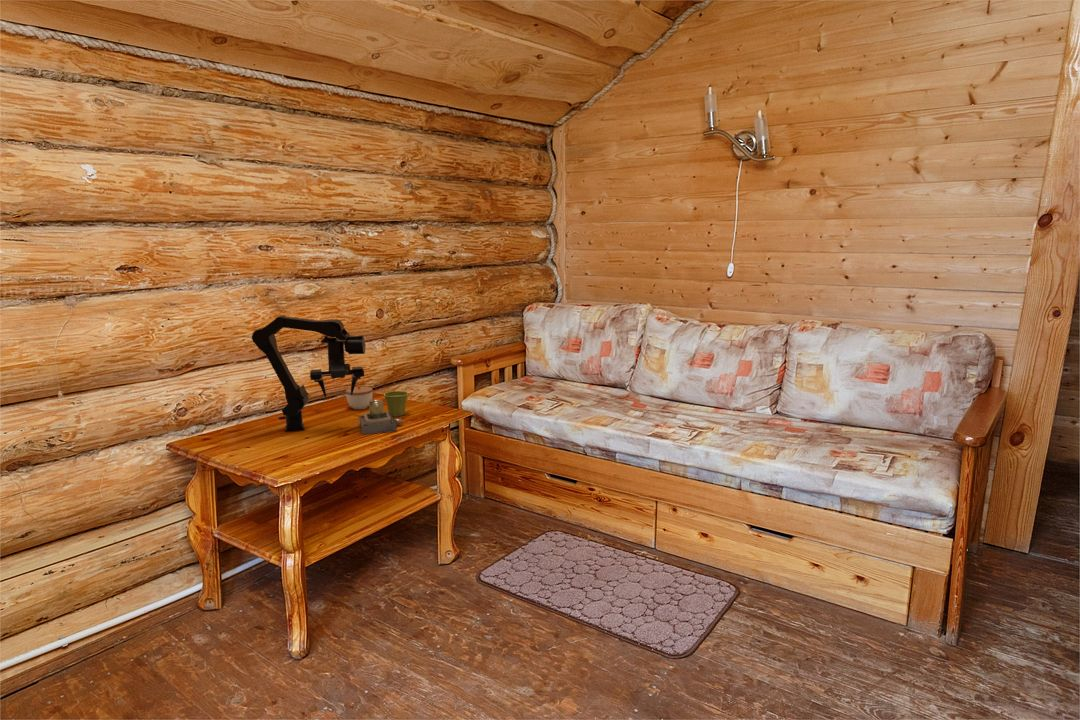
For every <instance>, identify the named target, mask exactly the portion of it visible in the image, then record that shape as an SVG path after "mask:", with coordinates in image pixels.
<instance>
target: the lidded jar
mask: <svg viewBox="0 0 1080 720" xmlns="http://www.w3.org/2000/svg"><path fill="white" fill-rule="evenodd" d="M373 390H374V389H373V388H372V387H370V386H361V384H359V385H357V386H355V387H354V391H353V394H352V395H351V387H349V388H346V389H345V397H346V401H347V403H348V405H349V406H350V407H351V408H352V409H353V410H364V409H365V410H366V409H368V407H369V401H371V400H373Z"/></svg>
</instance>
